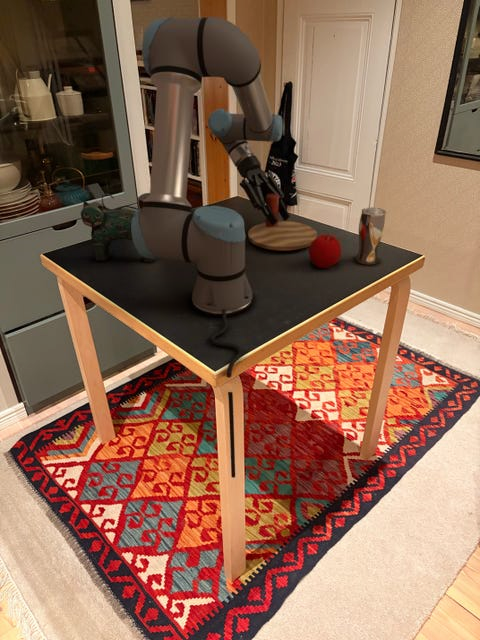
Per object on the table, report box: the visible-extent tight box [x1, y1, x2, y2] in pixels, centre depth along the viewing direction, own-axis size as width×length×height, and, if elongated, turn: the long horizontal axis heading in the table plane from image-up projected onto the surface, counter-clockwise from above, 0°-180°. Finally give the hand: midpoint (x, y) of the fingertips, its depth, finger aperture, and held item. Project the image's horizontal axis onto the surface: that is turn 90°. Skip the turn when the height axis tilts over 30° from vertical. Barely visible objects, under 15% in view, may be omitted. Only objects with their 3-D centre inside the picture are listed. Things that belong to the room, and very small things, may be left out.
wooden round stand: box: [247, 193, 318, 251], centre depth 147 cm, size 22×22×11 cm
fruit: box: [308, 231, 342, 269], centre depth 132 cm, size 9×9×10 cm
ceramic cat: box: [80, 193, 155, 263], centre depth 135 cm, size 20×6×20 cm, turn 83°
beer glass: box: [355, 206, 387, 266], centre depth 133 cm, size 7×7×15 cm
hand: (281, 221), depth 152 cm, fingers open, 5 cm apart
